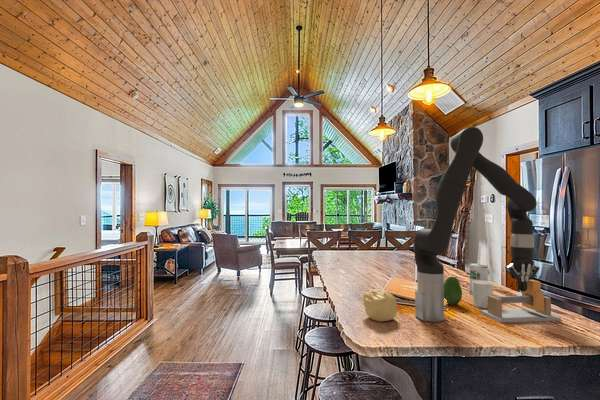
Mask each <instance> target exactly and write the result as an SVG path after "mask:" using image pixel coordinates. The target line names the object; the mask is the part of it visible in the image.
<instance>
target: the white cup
mask: <svg viewBox="0 0 600 400" xmlns="http://www.w3.org/2000/svg"><path fill="white" fill-rule="evenodd" d="M472 292H473V294H472V301H473V303H472V304H473V306H475V307H478V308H482V309H488V296H490V295H493V294H494V282H492V281H489V280H488V281H483V280H473V281H472ZM493 296H494V295H493Z"/></svg>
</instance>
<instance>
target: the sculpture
mask: <svg viewBox="0 0 600 400" xmlns="http://www.w3.org/2000/svg"><path fill="white" fill-rule="evenodd" d="M362 296H363V297H362V299H363V307H364V308H365V314H366V315H367V317H368V318H370V319H371V320H372V321H374V322H381V323H382V322H387V321H391V320H394V319H395V317H396V316H397V314H398V303H397V300H396V298H395V297H394V295H393V294H392V293H390V292H388V291H386V290H381V289H379V288H377V289H372V290H368V291H367V292H366V293H364V294H363V295H362Z"/></svg>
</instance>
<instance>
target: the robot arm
mask: <svg viewBox="0 0 600 400" xmlns="http://www.w3.org/2000/svg"><path fill="white" fill-rule="evenodd" d="M449 143H450V147H451V149H452V151H453V152H454V153H455V155H454V157H453V159H452V161H451V163H449V165H448V166H447V168H446V169H445V171H444V172H443V174H442V176H441V177H440V180H439V183H438V186H437V188H436V191H435V194H434V195H435V196H434V198H435V199H434V200H435V206H436V207H435V208H436V218H435V221H434V223H433V226H432V228H421V229H419V230H418V231H417V232H416V234H415V236H414V242H413V243H414V244H413V246H414V261H415V266H416V270H417V271H416V273H417V275H416V276H417V277H416V278H417V279H416V280H417V285H416V286H417V288H416V289H417V290H416V289H415V292H414V296H415V297H414V303H415V304H414V308H415V309H414V313H415V315H414V316H415V317H417V319H420V320H421V321H422V322H432V323H439V322H440V323H441V322H444V320H445V300H444V283H445V282H444V281H445V275H444V274H445V273H444V272H445V271H444V270H445V269H444V265H443V264H442V263H441V262H440V261H439V259H438V258H437V256H440V255H442V254H444V253H445V252H446V251H447V249H448V247H449V244H450V241H451V236H452V231H453V227H454V222H455V218H456V216H457V213H458V210H459V207H460V203H461V200H462V198H463V196H464V192H465V190H466V187H467V183H468V180H469V177H470V175H471V171H472V168H473V169H474V170H476V171H477V172H478V173H480V174H481V175H482V176H483V177H484V178H485V180H486V181H487V182H489V184H490V185H491V186H492V187H493V188H494V189H495V191H497V192H498V194H500V195H502V196H505V197H506V198H508V200H507V202H506V203H507V205H506V206H507V207H506V208H507V212H508V216H509V220H510V240H509V241H510V257H511V261H510V264H509V265H506V266H504V269H505V270H506V271H507V273H508V274H509V275H510V276H511V278H512V279H514V280H516V281H517V289H518V291H519V292H522V291H526V290H527V282H528V280H534V277H535V276H536V275H537V273H538V272H539V270H540V266H537V265H536V264H534V263H535V262H534V260H533V259H534V258H535V238H534V223H533V220H532V219H531V218H529V217H528V212H529V213H530V212H533V210H535V209H536V207H537V205H538V204H537V199H536V197H535V196H534V194H532V193H531V192H530V191H529V190H527V188H525V187H523V185H521V184H520V183H518V182H517V181H516V180H515V179H514V178H513V177H512V176H511V175H510V173H509V172H507V170H506V169H504V168H503V167H502V166H500V165H498V164H497V163H495V162H493V161H492V160H490V159H488V158H486V157H485V156H484V155H483V154H481V152H480V150H481V148H482V146H483V143H484V134H483V133H482V131H481V129H480V128H478V127H476V126H470V127H469V126H468V127H466V128H464V129H462V130H460V131H459V132H458V133H456V134H455V135H454V136H453V137H452V138H451V140H450V142H449Z"/></svg>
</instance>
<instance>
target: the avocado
mask: <svg viewBox="0 0 600 400" xmlns="http://www.w3.org/2000/svg"><path fill="white" fill-rule="evenodd" d="M444 281H445V282H444V298H445V299H446V300H447V302H446V304H448V305H450V306H451V305H452V306H456V305H458V304H459V303H460V302H461V300H462V297H463V289H462V287H461V284H460V281H459V279H458V277H456V276H449V277H448V278H446V280H444Z"/></svg>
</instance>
